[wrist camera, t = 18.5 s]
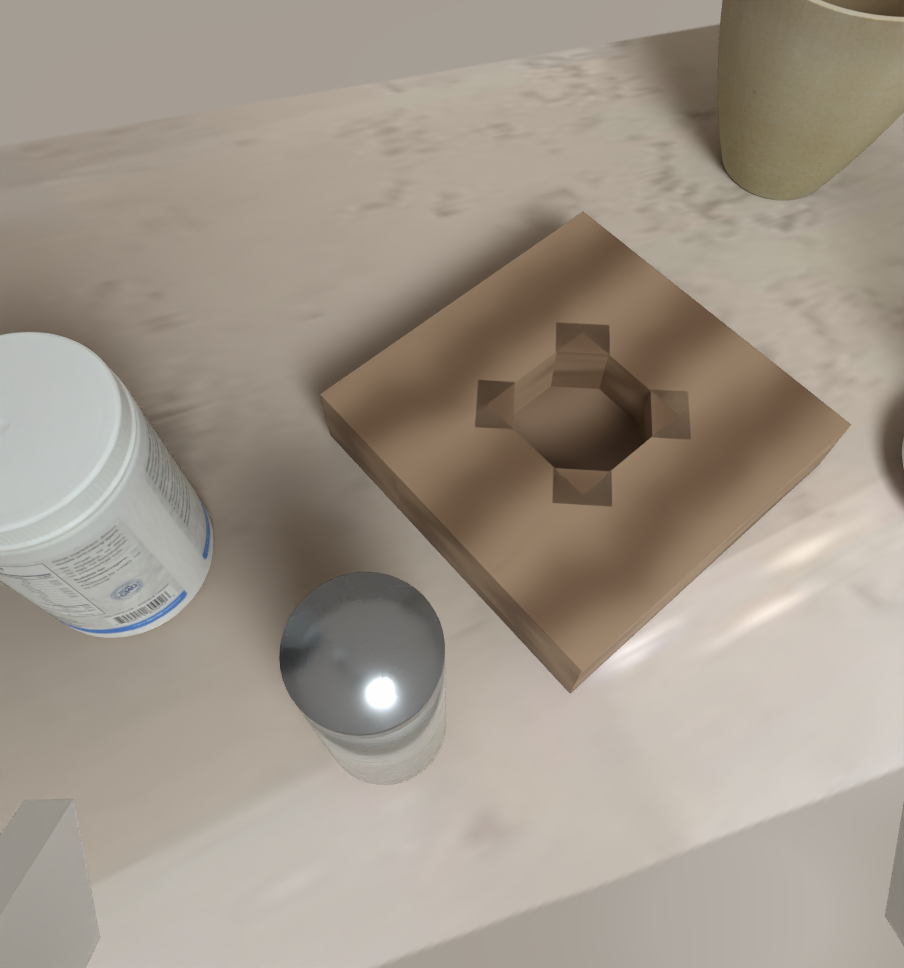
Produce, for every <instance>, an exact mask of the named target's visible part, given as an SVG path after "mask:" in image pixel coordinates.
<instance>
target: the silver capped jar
mask: <svg viewBox="0 0 904 968" xmlns="http://www.w3.org/2000/svg"><path fill="white" fill-rule="evenodd" d="M280 669H281V673H282V678H283V681H284V684H285V686H286V689H287V691H288V693H289V694H290V696H291V698H292V700H293V701H294V702H295V704H296V705H297V706H298V708H299V709H300V711H301V712H302V713H303V715H304V716H305V717H306V719H307V720H308V722H309V723H310V724H311V726H312V727H313V728H314V730H315V731H316V732H317V734H318V735H319V737H320V738H321V739H322V741H323V742H324V743H325V745H326V746H327V748H328V749H329V750H330V752H331V753H332V754H333V756H334V757H335V759H336V760H337V761H338V763H339V764H340V765H341V766H342V767H343V768H344V769H345V770H346V771H347V772H348V773H350V774H351V775H352V776H354V777H356V778H358V779H360V780H362V781H365V782H368V783H372V784H379V785H390V784H396V783H400V782H403V781H406V780H408V779H410V778H413V777H414V776H416V775H417V774H419V773H421V772H422V771H423V770H424V769H425V768H426V767H427V766H428V765H429V764H430V763H431V762H432V761H433V759H434V758H435V756H436V755H437V753H438V751H439V749H440V747H441V745H442V742H443V739H444V735H445V729H446V691H445V643H444V636H443V630H442V627H441V624H440V621H439V619H438V617H437V614H436V612H435V611H434V609H433V608H432V606H431V604H430V603H429V602H428V601H427V599H426V598H425V597H424V596H423V595H422V594H421V593H420V592H419V591H418V590H416V589H415V588H414V587H412V586H411V585H409V584H408V583H406V582H404V581H402V580H400V579H398V578H395V577H393V576H390V575H386V574H381V573H374V572H357V573H351V574H346V575H342V576H339V577H336V578H334V579H331V580H329V581H327V582H325V583H323V584H322V585H320V586H318V587H317V588H316V589H314V590H313V591H312V592H310V593H309V594H308V595H307V596H306V597H305V598H304V599H303V600H302V601H301V602H300V603H299V605H298V606H297V607H296V608H295V610H294V611H293V613H292V615H291V616H290V618H289V620H288V622H287V624H286V626H285V629H284V632H283V635H282V640H281V645H280Z"/></svg>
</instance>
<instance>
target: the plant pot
mask: <svg viewBox="0 0 904 968" xmlns="http://www.w3.org/2000/svg"><path fill="white" fill-rule="evenodd" d="M903 112H904V0H723V3H722V12H721V22H720V36H719V54H718V118H719V134H720V145H721V154H722V161H723V165H724V167H725V170H726V171H727V173H728V174H729V176H730V177H731V178H732V179H733V180H734V181H735V182H736V183H737V184H738V185H739V186H741V187H742V188H744V189H745V190H747V191H748V192H751V193H753V194H755V195H758V196H761V197H764V198H768V199H774V200H793V199H799V198H802V197H805V196H808V195H810V194H812V193H813V192H815V191H816V190H818V189H819V188H820V187H821V186H823V185H824V184H825V183H826V182H828V181H829V180H830V179H831V178H833V177H834V176H835V175H836V174H838V173H839V172H840V171H841V170H842V169H843V168H845V167H846V166H847V165H848V164H849V163H850V162H852V161H853V160H854V159H855V158H856V157H857V156H858V155H859V154H861V153H862V152H863V151H864V150H865V149H866V148H867V147H868V146H869V145H870V144H872V143H873V142H874V141H875V140H876V139H877V138H878V137H879V136H880V135H881V134H882V133H883V132H884V131H885V130H886V129H887V128H888V127H889V126H890V125H891V124H892V123H893V122H894V121H895V120H896V119H897V118H898V117H899V116H900V115H901V114H902V113H903Z"/></svg>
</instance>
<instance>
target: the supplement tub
mask: <svg viewBox="0 0 904 968" xmlns="http://www.w3.org/2000/svg"><path fill="white" fill-rule="evenodd" d="M213 546H214V537H213V528H212V524H211V520H210V517H209V515H208V512H207V510H206V508H205V506H204V505H203V503H202V501H201V500H200V498H199V496H198V495H197V493H196V492H195V490H194V489H193V487H192V486H191V484H190V483H189V481H188V480H187V478H186V477H185V475H184V474H183V472H182V471H181V469H180V468H179V466H178V465H177V463H176V462H175V460H174V459H173V457H172V456H171V454H170V453H169V451H168V449H167V448H166V446H165V445H164V443H163V442H162V440H161V439H160V437H159V436H158V434H157V433H156V431H155V430H154V428H153V427H152V425H151V424H150V422H149V421H148V419H147V418H146V416H145V415H144V413H143V412H142V410H141V408H140V407H139V405H138V404H137V402H136V401H135V399H134V398H133V397H132V395H131V394H130V392H129V391H128V389H127V388H126V387H125V385H124V384H123V383H122V381H121V380H120V379H119V378H118V376H117V375H116V374H115V373H114V372H113V371H112V370H111V369H109V367H108V366H107V365H106V364H105V363H104V361H103V360H102V359H101V358H100V357H99V356H97V355H96V354H95V353H94V352H93V351H92V350H90V349H89V348H87V347H86V346H84V345H82V344H80V343H78V342H76V341H74V340H71V339H69V338H66V337H63V336H59V335H55V334H50V333H43V332H16V333H8V334H2V335H0V581H2V582H3V583H4V584H6V585H7V586H9V587H10V588H12V589H13V590H15V591H16V592H18V593H19V594H21V595H22V596H24V597H25V598H27V599H28V600H30V601H31V602H33V603H34V604H36V605H37V606H38V607H40V608H41V609H43V610H44V611H46V612H47V613H49V614H50V615H52V616H53V617H55V618H57V619H58V620H60V621H61V622H63V623H64V624H66V625H67V626H69V627H70V628H72V629H74V630H76V631H79V632H82V633H84V634H88V635H91V636H96V637H104V638H116V637H126V636H133V635H136V634H140V633H143V632H146V631H149V630H151V629H154V628H156V627H158V626H160V625H162V624H163V623H165V622H167V621H168V620H170V619H171V618H173V617H174V616H176V615H177V614H178V613H179V612H180V611H181V610H182V609H184V608H185V607H186V606H187V605H188V604H189V602H190V601H191V600H192V599H193V598H194V596H195V595H196V594H197V592H198V591H199V589H200V588H201V586H202V585H203V583H204V581H205V578H206V576H207V574H208V571H209V568H210V565H211V561H212V555H213Z"/></svg>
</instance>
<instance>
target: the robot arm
mask: <svg viewBox="0 0 904 968" xmlns="http://www.w3.org/2000/svg"><path fill="white" fill-rule="evenodd" d="M885 916H886V918H887V920H888V922H889V923H890V925H891V926H892V928H893V930H894V931H895V933H896V934H897V936H898V938H899V939H900V941H901V943H902V944H903V945H904V805H903V811H902V816H901V822H900V829H899V834H898V841H897V847H896V853H895V859H894V865H893V871H892V877H891V882H890V888H889V895H888V900H887V907H886V913H885ZM99 939H100V933H99V928H98V922H97V917H96V912H95V907H94V902H93V897H92V892H91V886H90V881H89V876H88V871H87V866H86V861H85V855H84V850H83V845H82V840H81V835H80V830H79V824H78V819H77V814H76V809H75V804H74V799H53V800H25V801H24V802H23V804H22V805H21V806H20V808H19V809H18V811H17V812H16V813H15V815H14V816H13V818H12V819H11V820H10V822H9V823H8V825H7V826H6V827H5V829H4V830H3V832H2V833H1V835H0V968H86V966H87V964H88V962H89V960H90V958H91V956H92V953H93V951H94V949H95V947H96V945H97V943H98V941H99Z"/></svg>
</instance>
